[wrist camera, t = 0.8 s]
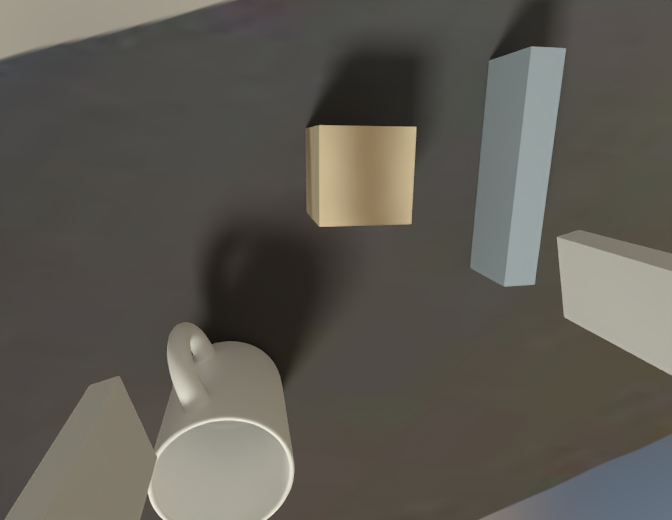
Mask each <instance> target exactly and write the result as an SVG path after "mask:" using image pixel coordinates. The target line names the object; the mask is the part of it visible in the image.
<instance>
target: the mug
mask: <svg viewBox="0 0 672 520" xmlns="http://www.w3.org/2000/svg"><path fill="white" fill-rule="evenodd" d="M191 351H192V353H193V355H192V353H191ZM167 358H168V366H169V371H170V375H171V379H172V382H173V388H172V391H171V394H170V398H169V401H168V404H167V408H166V411H165V414H164V418H163V421H162V425H161V428H160V431H159V435H158V438H157V441H156V445H155V448H154V452H155V454H156V456H157V460H156V463H155V467H154V471H153V474H152V478H151V482H150V485H149V489H148V496H149V499H150V502H151V504H152V506H153V508H154V509H155V511H156V512H157V514H158V515H159V516H160V517H161V518H162V519H163V520H266V519H268V518H269V517H270V516H271V515H273V514H274V513H275V512H276V511H277V510H278V509H279V507H280V506H281V505H282V503H283V502H284V501H285V499H286V497H287V496H288V493H289V491H290V489H291V486H292V483H293V479H294V459H293V453H292V446H291V440H290V433H289V427H288V420H287V414H286V407H285V401H284V394H283V388H282V382H281V378H280V375H279V372H278V369H277V367H276V366H275V364H274V362H273V361H272V359H271V358H270V357H269V356H268V355H267V354H266V353H265V352H263V351H262V350H260V349H259V348H257V347H255V346H253V345H250V344H247V343H243V342H237V341H225V342H218V343H214V344H211V342H210V341H209V339H208V338H207V336H206V335H205V334H204V332H203V331H202V330H201V329H200V328H199V327H197V326H196V325H194V324H193V323H188V322H184V323H180V324H178V325H177V326H175V327H174V328H173V330H172V331H171V333H170V335H169V338H168V345H167Z"/></svg>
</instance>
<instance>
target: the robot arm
mask: <svg viewBox="0 0 672 520" xmlns="http://www.w3.org/2000/svg"><path fill="white" fill-rule="evenodd" d="M557 243H558V254H559V265H560V276H561V288H562V299H563V310H564V317H565V318H567V319H569V320H570V321H572V322H574V323H576V324H578V325H580V326H582V327H583V328H585V329H587V330H589V331H591V332H593V333H594V334H596V335H598V336H600V337H602V338H604V339H606V340H607V341H609V342H611V343H613V344H615V345H617V346H619V347H620V348H622V349H624V350H626V351H628V352H630V353H631V354H633V355H635V356H637V357H639V358H641V359H643V360H644V361H646V362H648V363H650V364H652V365H654V366H655V367H657V368H659V369H661V370H663V371H665V372H667V373H668V374H670V375H672V254H671V253H667V252H663V251H659V250H655V249H651V248H647V247H643V246H640V245H636V244H632V243H628V242H624V241H620V240H616V239H612V238H608V237H605V236H601V235H597V234H593V233H589V232H585V231H581V230H577V231H574V232H571V233H568V234H565V235H561V236H558V237H557ZM156 460H157V456H156V454H155V452H154V449H153V447H152V445H151V443H150V441H149V439H148V437H147V434H146V432H145V430H144V428H143V426H142V424H141V421H140V419H139V417H138V415H137V413H136V411H135V408H134V406H133V404H132V402H131V400H130V398H129V396H128V393H127V391H126V389H125V387H124V385H123V383H122V380H121V378H120V376H117V377H114V378H111V379H107V380H104V381H101V382H98V383H95V384H92V385H90V386H89V387H88V389H87V390H86V392H85V393H84V395H83V397H82V398H81V400H80V401H79V403H78V405H77V406H76V408H75V409H74V411H73V412H72V414H71V416H70V417H69V419H68V420H67V422H66V423H65V425H64V427H63V428H62V430H61V431H60V433H59V434H58V436H57V438H56V439H55V441H54V442H53V444H52V445H51V447H50V449H49V450H48V452H47V453H46V455H45V456H44V458H43V460H42V461H41V463H40V464H39V466H38V467H37V469H36V471H35V472H34V474H33V475H32V477H31V478H30V480H29V482H28V483H27V485H26V486H25V488H24V489H23V491H22V493H21V494H20V496H19V497H18V499H17V500H16V502H15V504H14V505H13V507H12V508H11V510H10V511H9V513H8V515H7V516H6V518H5V519H4V520H140V518H141V514H142V511H143V507H144V503H145V500H146V496H147V492H148V489H149V485H150V482H151V478H152V474H153V471H154V467H155V463H156Z"/></svg>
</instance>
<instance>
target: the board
mask: <svg viewBox="0 0 672 520" xmlns="http://www.w3.org/2000/svg"><path fill="white" fill-rule="evenodd" d="M565 53H566V48H552V47H534V46H531V47H528V48H525V49H522V50H519V51H516V52H513V53H510V54H507V55H504V56H501V57H498V58H495V59H493V60H490V61H489V67H488V78H487V89H486V100H485V111H484V122H483V133H482V144H481V154H480V165H479V176H478V187H477V198H476V209H475V220H474V231H473V241H472V252H471V263H470V268H471V269H473V270H475V271H477V272H479V273H480V274H482V275H484V276H486V277H488V278H489V279H491V280H493V281H495V282H497V283H498V284H500V285H502V286H520V285H534V284H535V277H536V269H537V262H538V254H539V247H540V239H541V232H542V224H543V217H544V210H545V202H546V195H547V187H548V180H549V172H550V165H551V157H552V150H553V142H554V135H555V127H556V120H557V112H558V105H559V97H560V90H561V82H562V75H563V68H564V60H565Z"/></svg>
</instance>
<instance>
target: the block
mask: <svg viewBox="0 0 672 520" xmlns="http://www.w3.org/2000/svg"><path fill="white" fill-rule="evenodd" d="M415 146H416V127H402V126H340V125H318V126H314V127H309V128H306V205H307V213H308V214H309V216H310V217H311V218H312V219H313V220H314V221H315V222H316V224H317V225H318V226H319V227H330V226H363V225H396V224H411V220H412V201H413V183H414V164H415Z"/></svg>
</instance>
